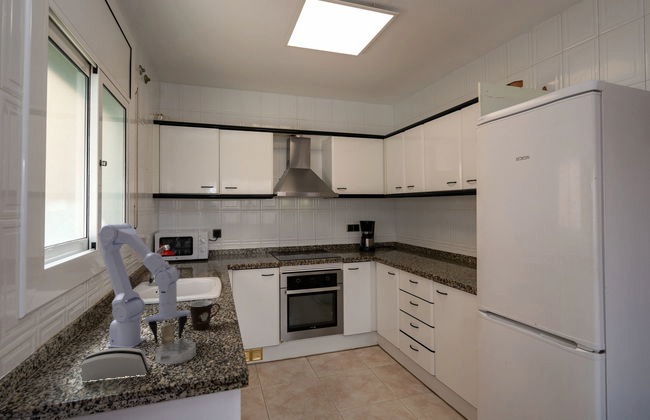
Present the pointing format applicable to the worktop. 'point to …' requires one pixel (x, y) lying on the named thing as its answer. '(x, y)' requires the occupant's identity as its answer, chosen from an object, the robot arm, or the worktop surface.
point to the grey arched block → (114, 364)
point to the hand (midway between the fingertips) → (168, 339)
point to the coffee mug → (201, 314)
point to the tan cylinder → (167, 333)
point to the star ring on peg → (175, 352)
